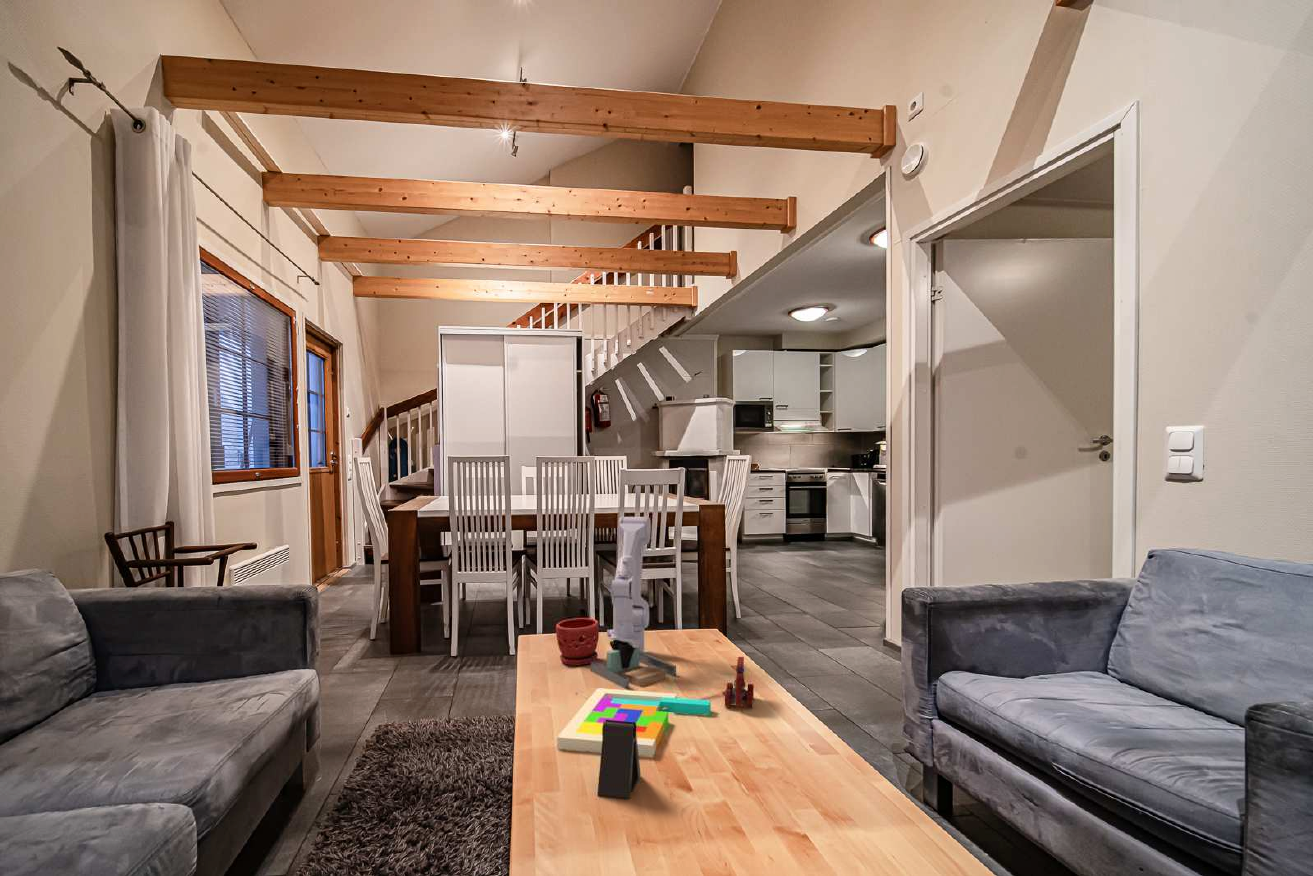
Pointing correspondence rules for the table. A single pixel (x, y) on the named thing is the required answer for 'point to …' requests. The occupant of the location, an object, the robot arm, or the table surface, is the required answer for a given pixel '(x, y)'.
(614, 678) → the rack
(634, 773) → the phone stand
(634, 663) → the teal board
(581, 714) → the puzzle game
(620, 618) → the robot arm
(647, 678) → the offcut upper
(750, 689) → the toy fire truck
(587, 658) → the plant pot
